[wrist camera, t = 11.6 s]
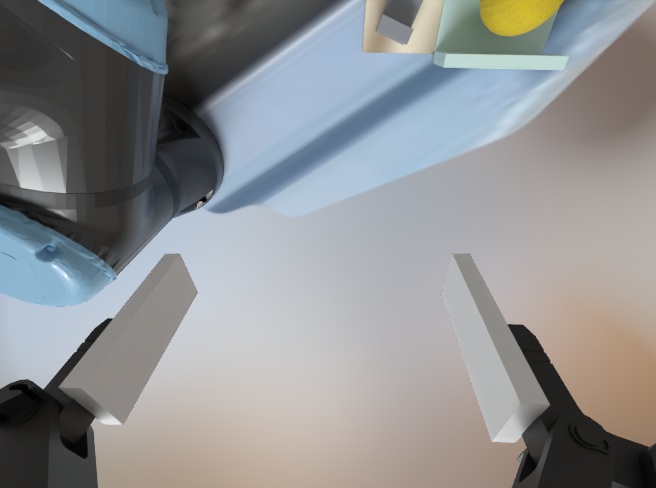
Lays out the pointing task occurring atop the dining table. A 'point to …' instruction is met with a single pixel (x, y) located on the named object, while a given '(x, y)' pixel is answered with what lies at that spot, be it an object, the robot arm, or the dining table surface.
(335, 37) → the dining table surface
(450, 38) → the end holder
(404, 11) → the clip
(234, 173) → the dining table surface
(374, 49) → the board
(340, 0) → the dining table surface
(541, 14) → the lemon
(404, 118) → the dining table surface
